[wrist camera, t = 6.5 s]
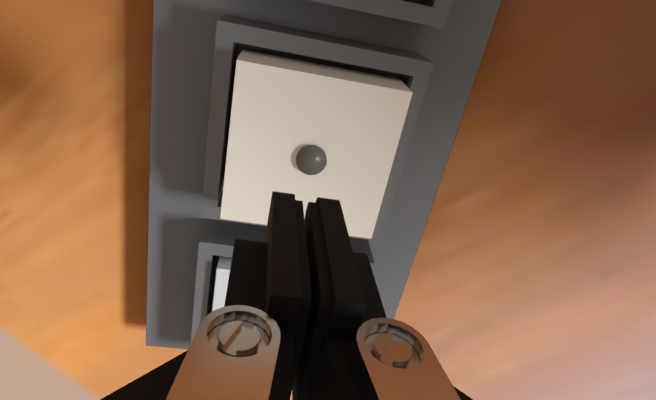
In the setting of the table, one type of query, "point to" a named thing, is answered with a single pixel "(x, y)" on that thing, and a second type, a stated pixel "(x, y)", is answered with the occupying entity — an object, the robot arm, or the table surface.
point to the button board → (215, 112)
